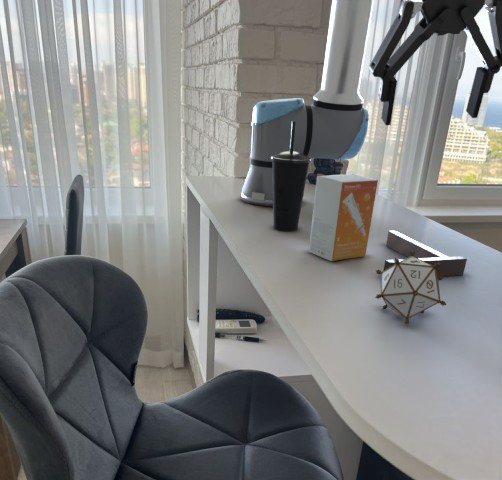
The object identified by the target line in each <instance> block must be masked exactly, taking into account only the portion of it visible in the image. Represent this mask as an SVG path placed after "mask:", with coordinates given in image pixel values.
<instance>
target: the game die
mask: <svg viewBox="0 0 502 480" xmlns="http://www.w3.org/2000/svg"><path fill="white" fill-rule="evenodd" d="M414 255H415V252H414V250H412V251H411V256H410V257H406V258H403V259H404V260H402V261H400V262H399V260H398V259H399V258H396V257H395V258H394V259H393V260H394V262H395V263H396V264H395V265H393V266H391V267H390V268H388V269H386V270H385V271H381V270H380V269H375V273H376V274H377V275H380V293H378V294H376V296H374V298H375V299H380V298H382V300H383V302H384V305H383V306H382V310H387V309H388V308H389V309H390V310H392V311H393V312H395V313H396V314H398V315H400V316H401V317H403V318H404V324H405V326H406V327H407V326H408V325H409V324H410V320H409V319H411V318H413V317H415V316H417V315H419V314H424V313H425V311H426V310H429V309H430V308H432V307H434V306H437V305H439V304H440V305H441V306H447V302H446V301H444V300H442V299H441V293H440V286H439V284H440V283H439V281H442V280H443V278H444V277H442V276H438V277H437V272H436V267H438V266H440V262H439V263H437V262H436V264H435V265H434V266H433V265H431V264H429V263H426V262H424V261H422V260H420V259H418V258H416V257H414Z"/></svg>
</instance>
